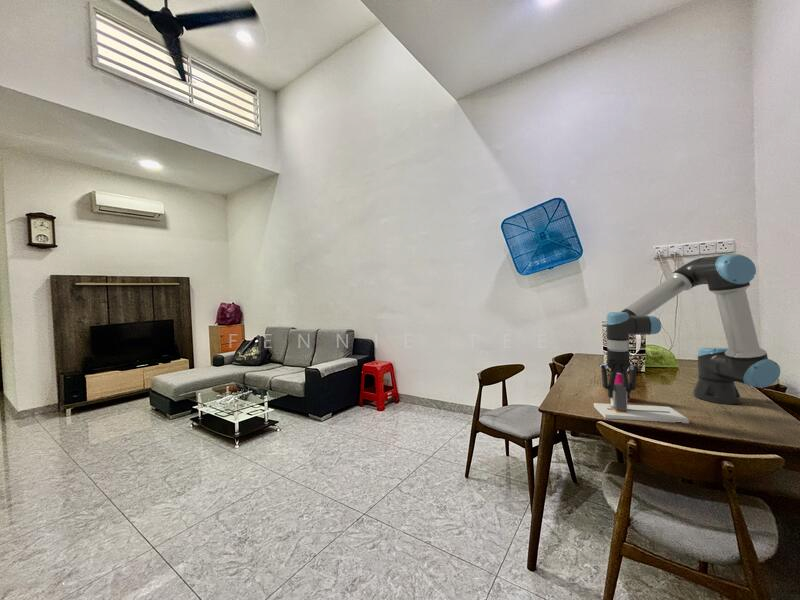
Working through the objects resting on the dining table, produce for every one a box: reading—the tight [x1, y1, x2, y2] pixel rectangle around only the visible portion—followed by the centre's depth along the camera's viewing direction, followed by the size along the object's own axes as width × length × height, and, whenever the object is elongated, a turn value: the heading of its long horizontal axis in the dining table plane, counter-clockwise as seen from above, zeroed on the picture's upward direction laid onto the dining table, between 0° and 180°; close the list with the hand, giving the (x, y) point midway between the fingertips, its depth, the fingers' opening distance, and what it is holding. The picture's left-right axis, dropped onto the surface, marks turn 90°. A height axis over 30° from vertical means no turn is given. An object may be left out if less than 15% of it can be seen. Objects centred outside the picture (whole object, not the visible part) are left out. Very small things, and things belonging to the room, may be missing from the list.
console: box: [593, 402, 690, 424], centre depth 128 cm, size 28×13×2 cm, turn 75°
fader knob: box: [612, 383, 627, 411], centre depth 129 cm, size 4×5×10 cm
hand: (618, 405), depth 130 cm, fingers closed on fader knob, 3 cm apart
